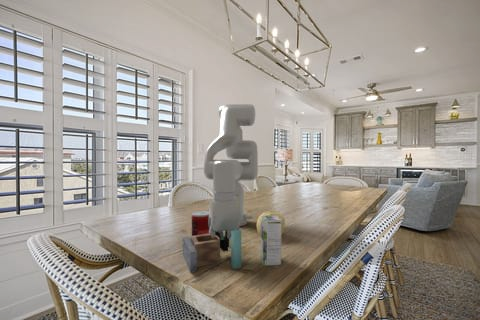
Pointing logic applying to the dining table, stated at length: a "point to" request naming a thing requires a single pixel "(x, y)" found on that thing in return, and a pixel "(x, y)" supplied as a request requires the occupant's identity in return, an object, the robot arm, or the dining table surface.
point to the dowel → (236, 248)
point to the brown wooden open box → (206, 249)
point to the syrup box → (270, 240)
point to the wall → (190, 254)
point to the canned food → (200, 223)
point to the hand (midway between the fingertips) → (224, 249)
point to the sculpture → (270, 214)
